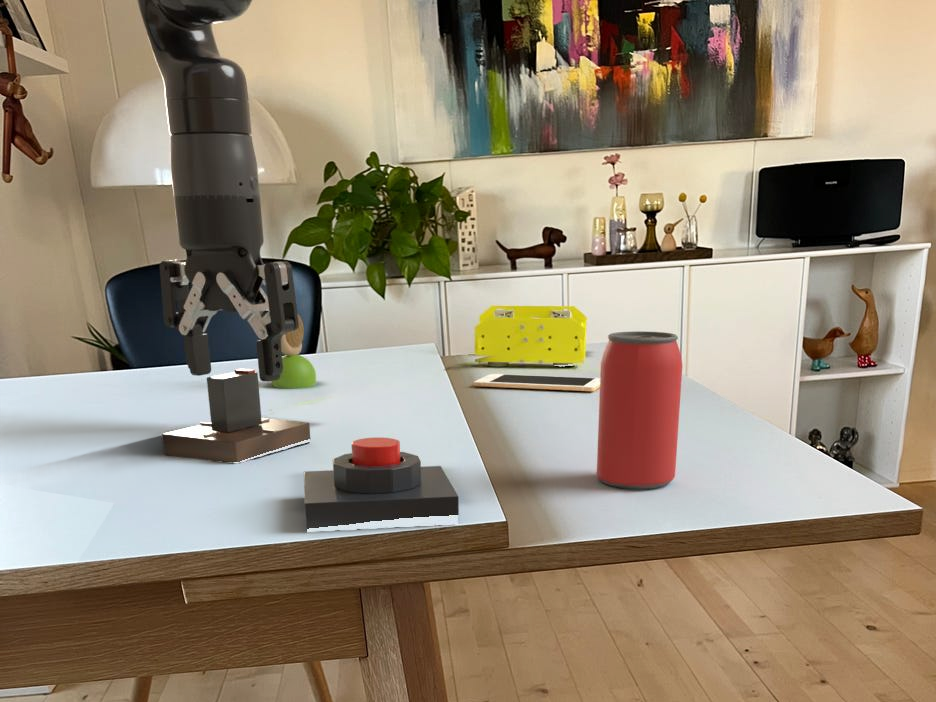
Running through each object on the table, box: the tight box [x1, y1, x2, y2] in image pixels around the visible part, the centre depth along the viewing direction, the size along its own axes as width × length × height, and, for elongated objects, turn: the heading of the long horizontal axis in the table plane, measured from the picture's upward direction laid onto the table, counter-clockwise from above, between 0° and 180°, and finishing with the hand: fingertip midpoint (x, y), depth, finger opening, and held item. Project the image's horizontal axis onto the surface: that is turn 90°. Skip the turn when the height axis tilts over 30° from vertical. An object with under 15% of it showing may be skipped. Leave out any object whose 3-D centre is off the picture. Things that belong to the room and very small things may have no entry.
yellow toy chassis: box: [474, 305, 588, 367], centre depth 154 cm, size 16×6×8 cm, turn 82°
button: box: [351, 436, 401, 466], centre depth 78 cm, size 4×4×2 cm
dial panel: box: [161, 417, 311, 463], centre depth 101 cm, size 11×9×2 cm
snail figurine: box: [270, 314, 317, 390], centre depth 125 cm, size 5×6×12 cm
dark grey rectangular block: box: [206, 368, 262, 433], centre depth 100 cm, size 5×2×5 cm, turn 151°
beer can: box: [596, 330, 683, 490], centre depth 86 cm, size 7×7×12 cm
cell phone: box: [473, 373, 600, 392], centre depth 137 cm, size 8×16×1 cm, turn 72°
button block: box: [303, 451, 460, 530], centre depth 79 cm, size 11×10×4 cm
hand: (235, 377), depth 99 cm, fingers open, 8 cm apart
